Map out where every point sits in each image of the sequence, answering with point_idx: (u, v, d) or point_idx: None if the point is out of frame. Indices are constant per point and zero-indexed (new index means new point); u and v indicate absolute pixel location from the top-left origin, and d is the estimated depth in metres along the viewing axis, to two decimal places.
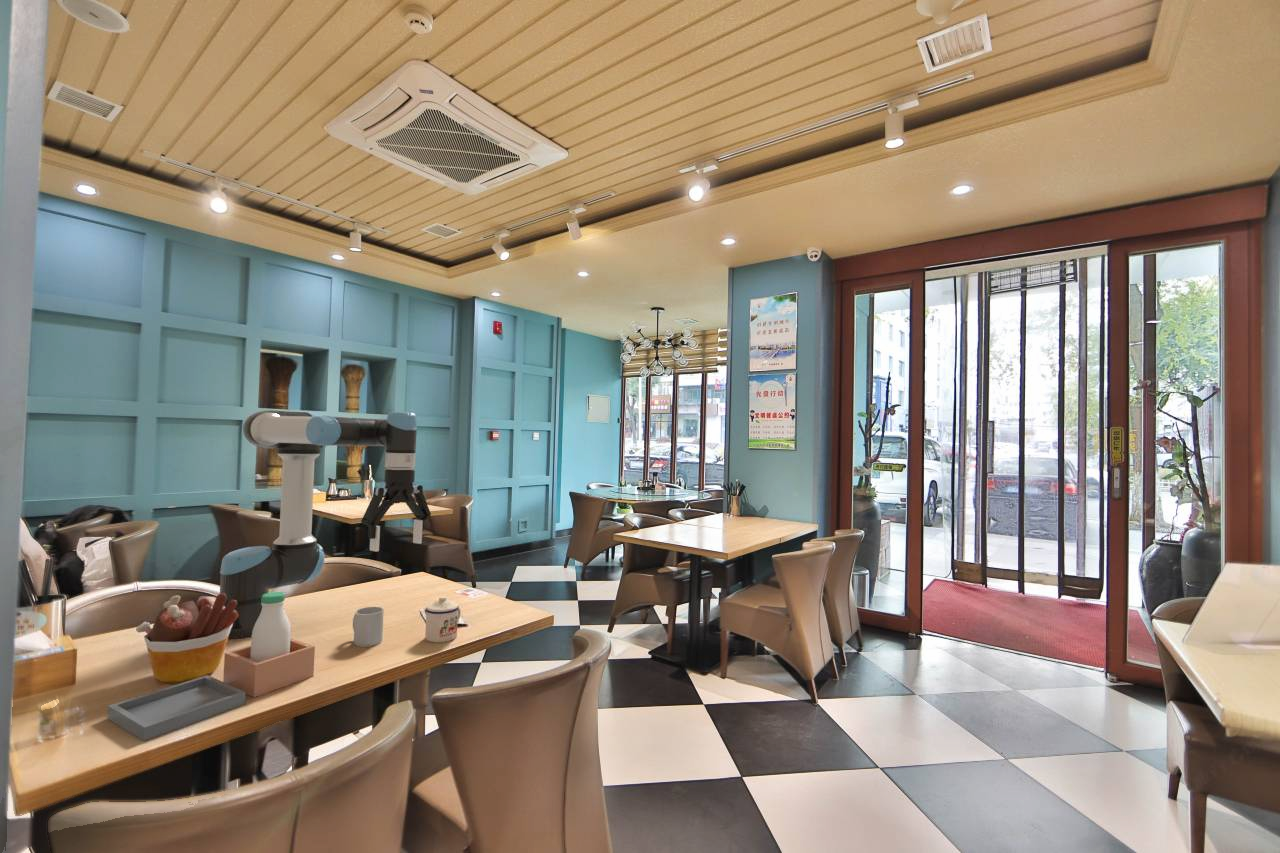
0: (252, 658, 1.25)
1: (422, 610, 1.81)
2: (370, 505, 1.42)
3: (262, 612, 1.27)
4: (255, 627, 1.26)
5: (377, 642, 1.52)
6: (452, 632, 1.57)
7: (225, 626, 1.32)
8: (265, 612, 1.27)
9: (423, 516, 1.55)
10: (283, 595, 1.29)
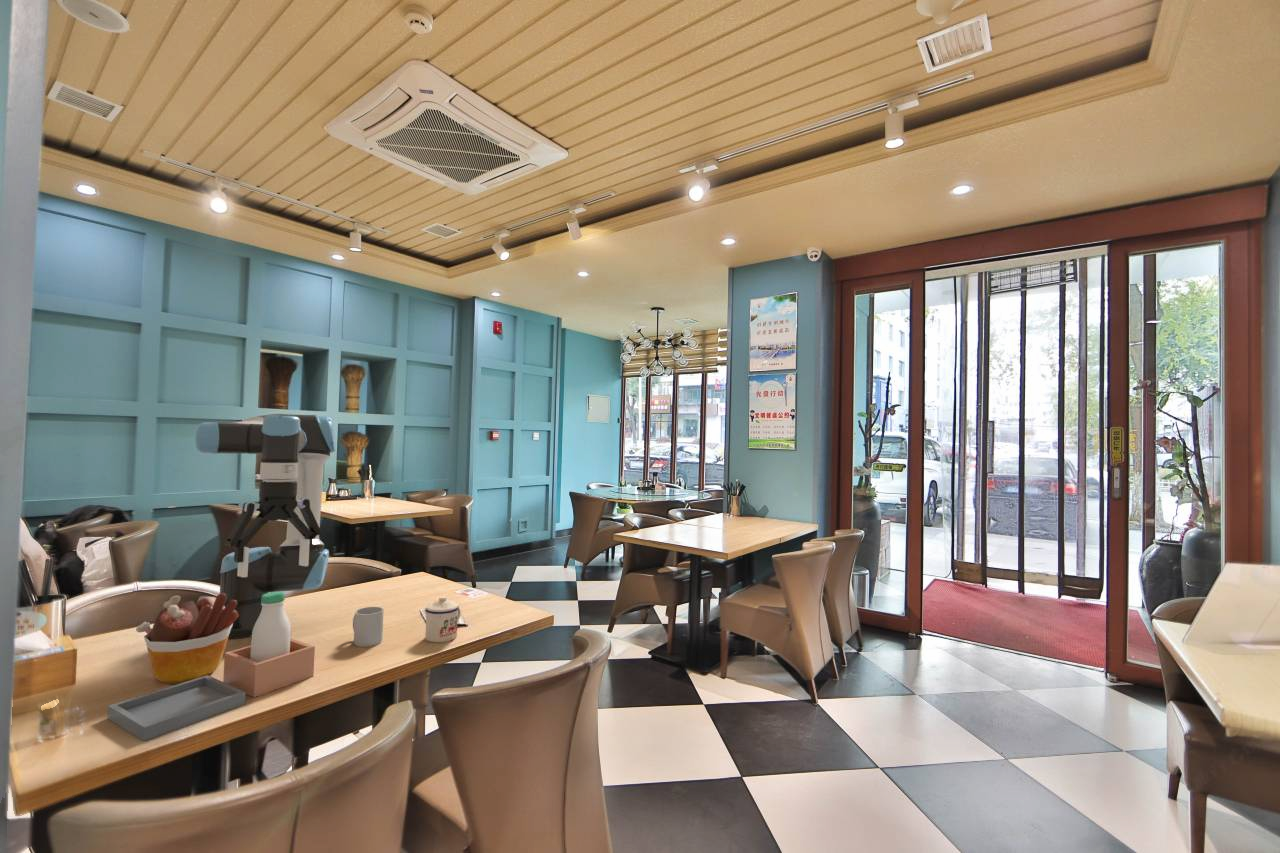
0: (252, 658, 1.25)
1: (422, 610, 1.81)
2: (237, 523, 1.22)
3: (262, 612, 1.27)
4: (255, 627, 1.26)
5: (377, 642, 1.52)
6: (452, 632, 1.57)
7: (225, 626, 1.32)
8: (265, 612, 1.27)
9: (311, 534, 1.35)
10: (283, 595, 1.29)
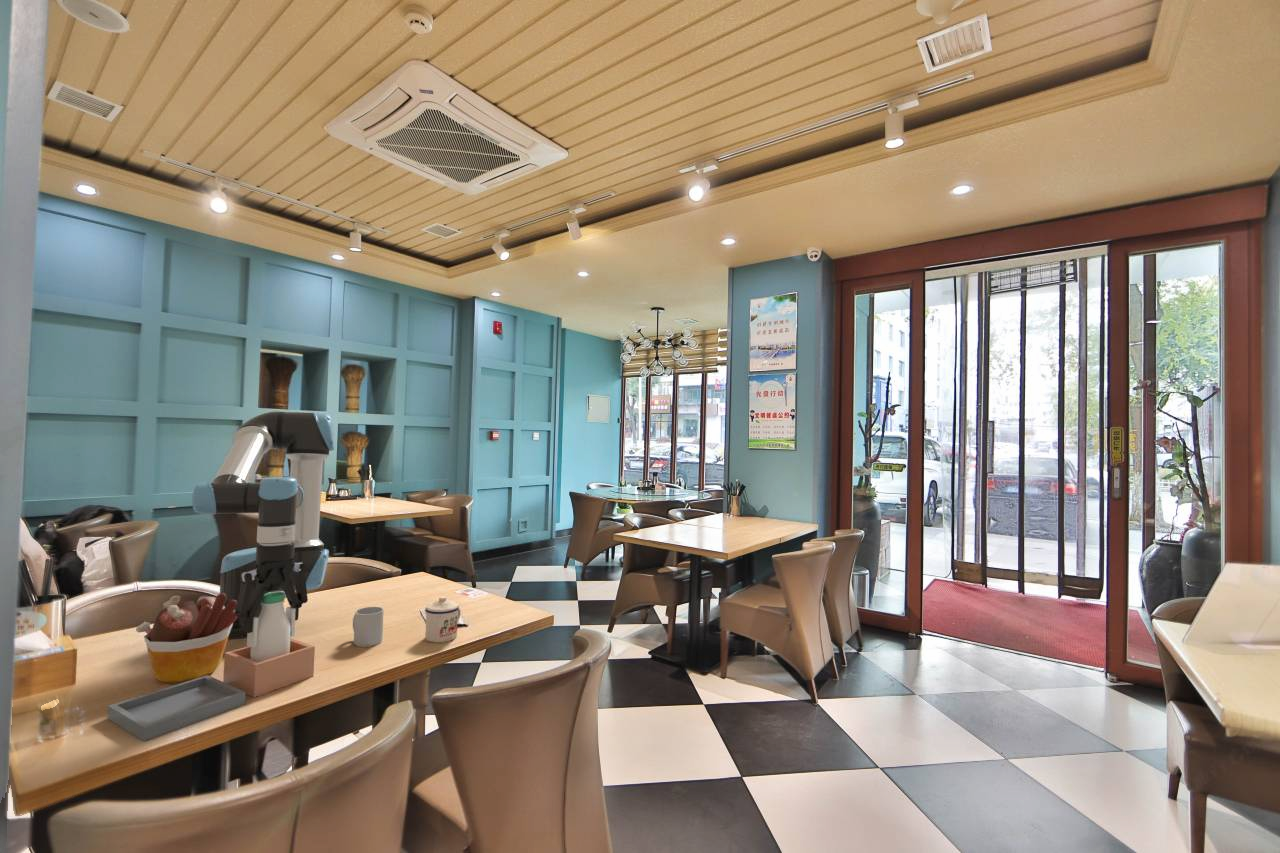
0: (252, 658, 1.25)
1: (422, 610, 1.81)
2: (240, 595, 1.23)
3: (262, 612, 1.27)
4: None
5: (377, 642, 1.52)
6: (452, 632, 1.57)
7: (225, 626, 1.32)
8: (265, 612, 1.27)
9: (297, 603, 1.33)
10: (283, 595, 1.29)
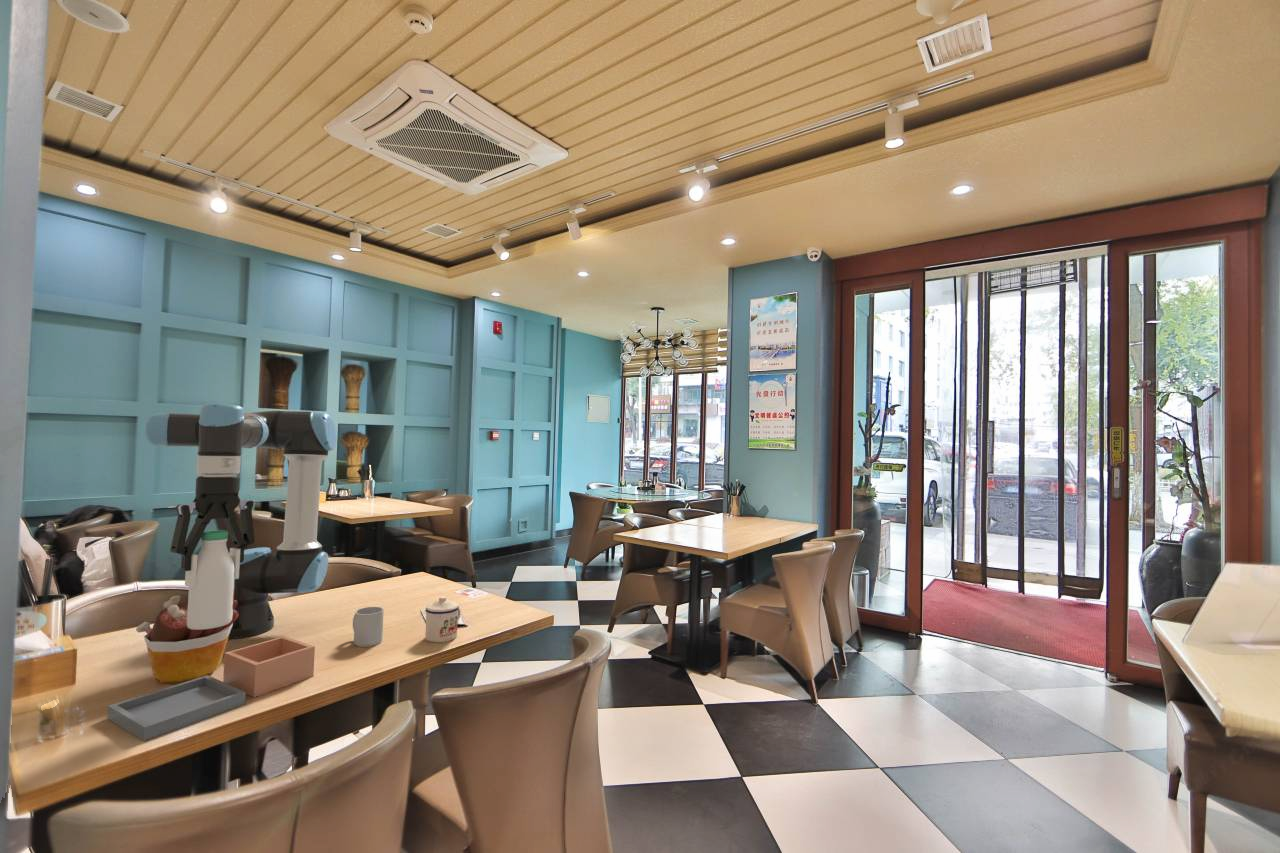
0: (190, 599, 1.14)
1: (423, 610, 1.81)
2: (176, 529, 1.12)
3: (202, 550, 1.16)
4: None
5: (377, 642, 1.52)
6: (452, 632, 1.57)
7: (225, 626, 1.32)
8: (205, 549, 1.16)
9: (242, 543, 1.22)
10: (226, 532, 1.18)
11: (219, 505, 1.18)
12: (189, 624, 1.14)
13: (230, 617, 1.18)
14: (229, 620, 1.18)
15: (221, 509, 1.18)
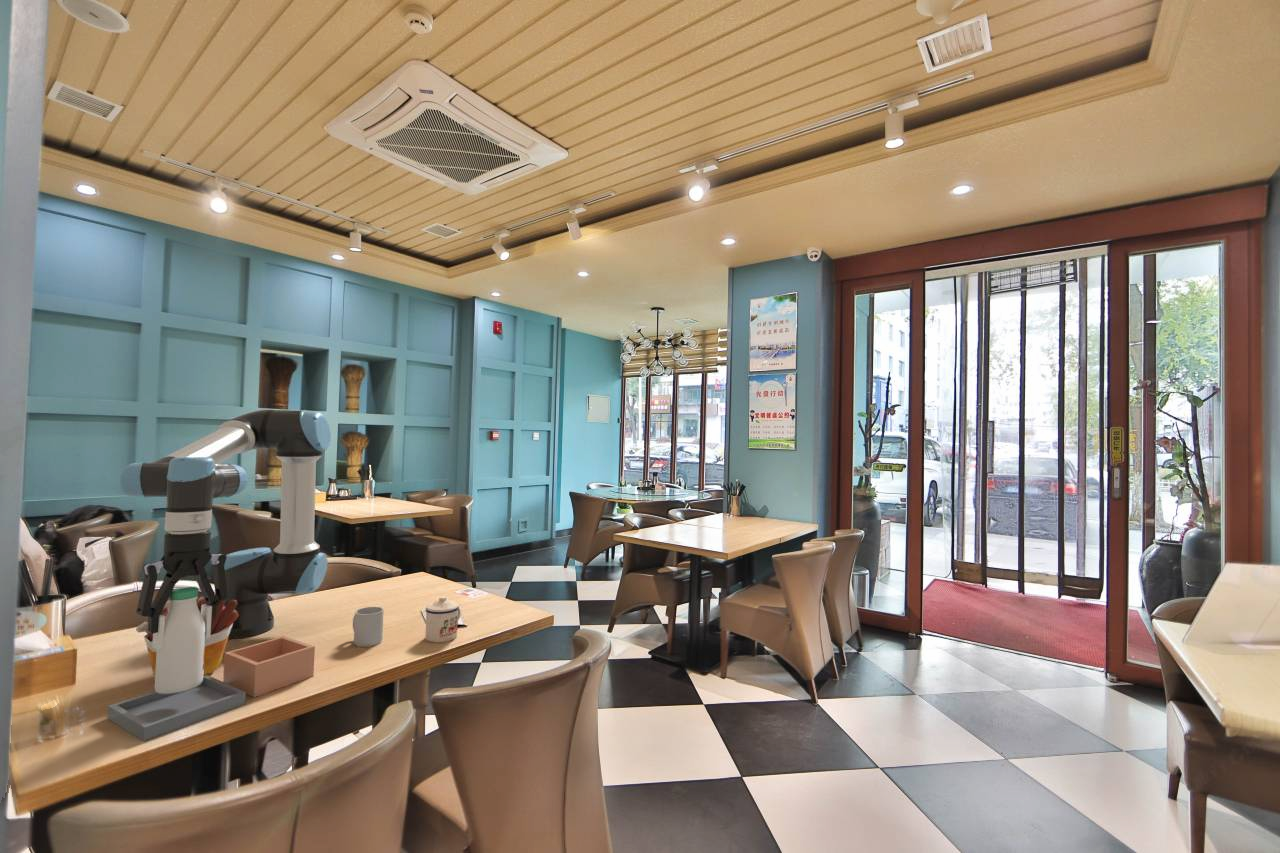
0: (157, 662, 1.10)
1: (423, 610, 1.81)
2: (142, 590, 1.08)
3: (170, 610, 1.11)
4: None
5: (377, 642, 1.52)
6: (452, 632, 1.57)
7: (225, 626, 1.32)
8: (173, 609, 1.11)
9: (214, 600, 1.17)
10: (196, 590, 1.14)
11: (189, 562, 1.13)
12: (156, 688, 1.09)
13: (200, 678, 1.14)
14: (199, 682, 1.13)
15: (191, 566, 1.14)
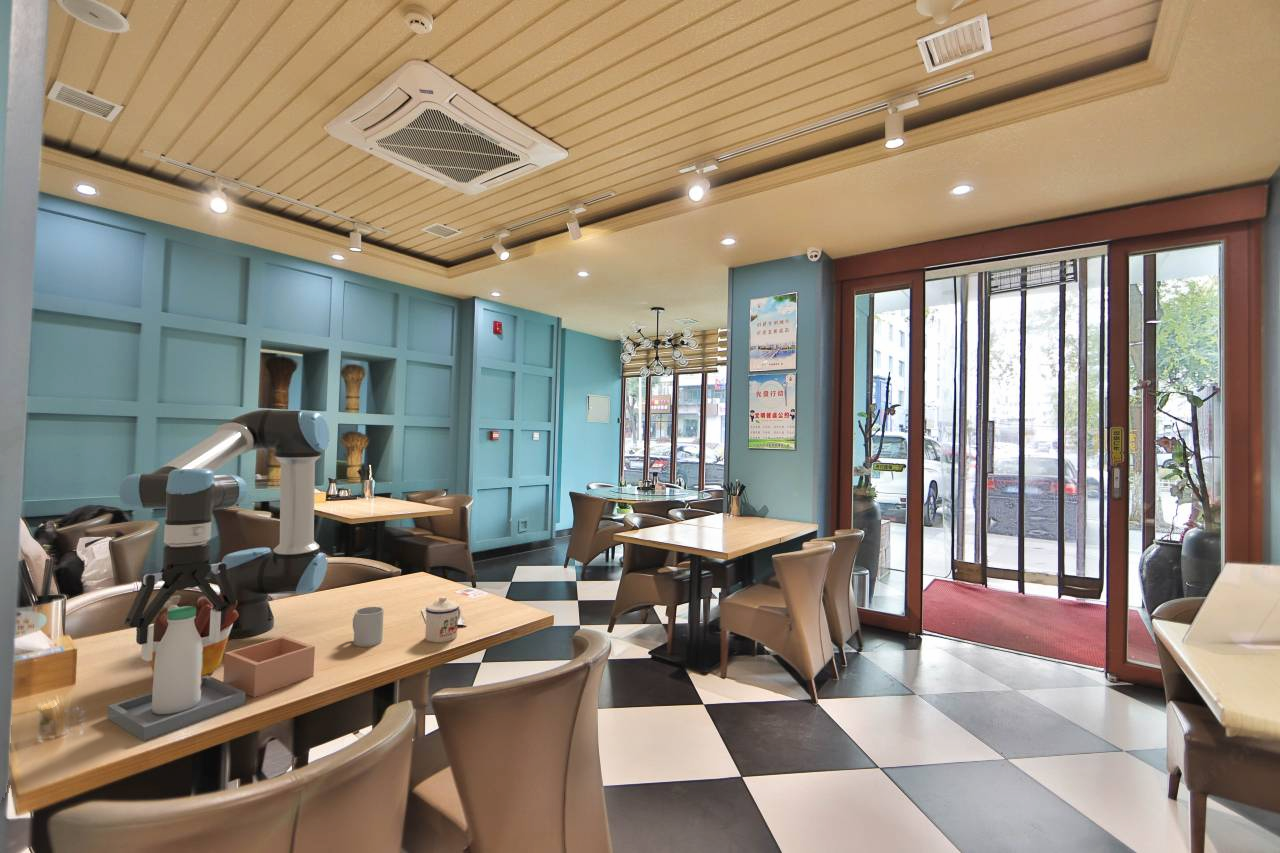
0: (154, 682, 1.09)
1: (424, 610, 1.82)
2: (136, 599, 1.07)
3: (167, 630, 1.11)
4: (159, 647, 1.10)
5: (377, 642, 1.52)
6: (452, 632, 1.57)
7: (225, 626, 1.32)
8: (171, 630, 1.11)
9: (223, 606, 1.19)
10: (193, 610, 1.13)
11: (188, 574, 1.13)
12: (153, 708, 1.09)
13: (197, 698, 1.13)
14: (196, 702, 1.13)
15: (190, 578, 1.13)
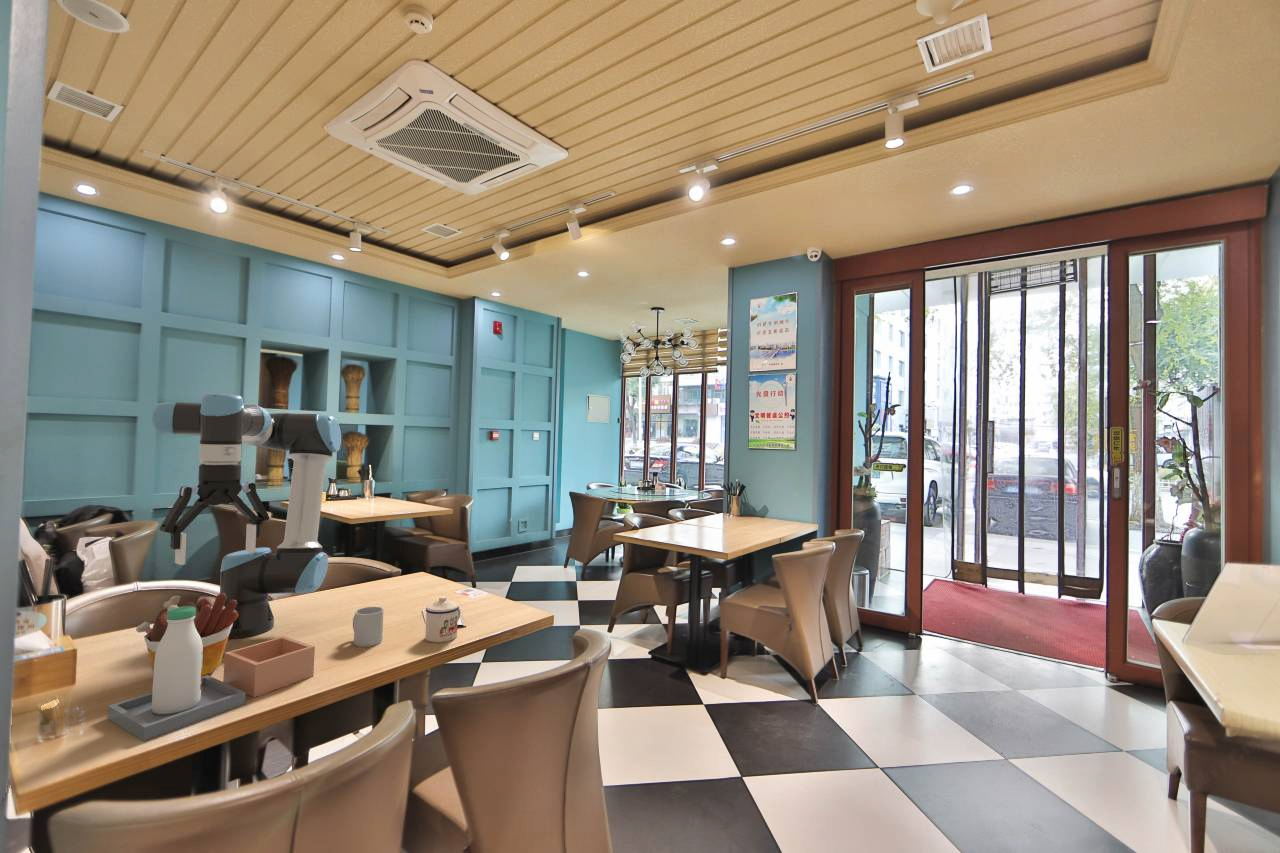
0: (154, 683, 1.09)
1: (424, 610, 1.82)
2: (173, 508, 1.16)
3: (167, 630, 1.11)
4: (158, 647, 1.10)
5: (377, 642, 1.52)
6: (452, 632, 1.57)
7: (225, 626, 1.32)
8: (170, 630, 1.11)
9: (257, 520, 1.29)
10: (193, 610, 1.13)
11: (221, 492, 1.22)
12: (153, 709, 1.09)
13: (197, 698, 1.13)
14: (196, 702, 1.13)
15: (223, 495, 1.22)
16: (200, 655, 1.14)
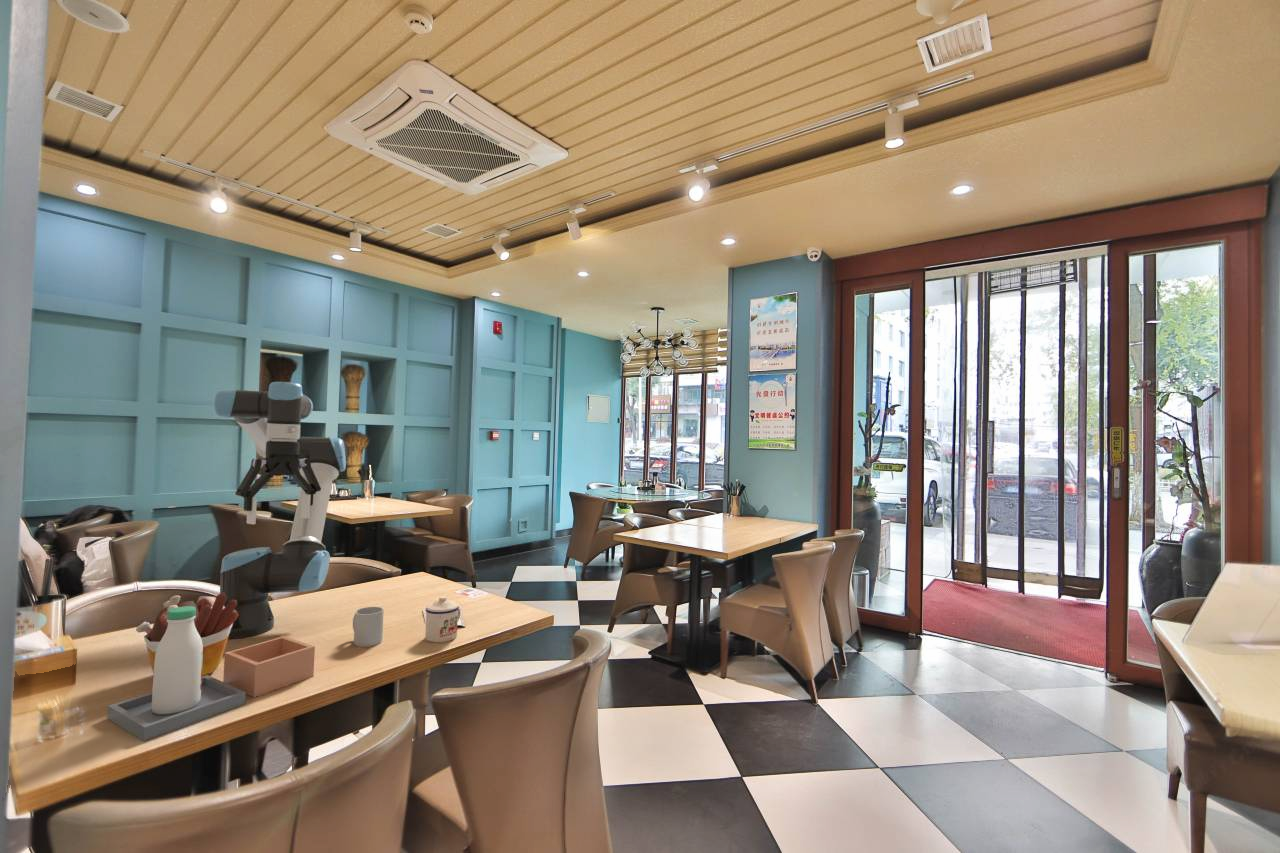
0: (154, 683, 1.09)
1: (425, 610, 1.82)
2: (246, 476, 1.38)
3: (167, 630, 1.11)
4: (158, 647, 1.10)
5: (377, 642, 1.52)
6: (452, 632, 1.57)
7: (225, 626, 1.32)
8: (170, 630, 1.11)
9: (311, 490, 1.51)
10: (193, 610, 1.13)
11: (284, 464, 1.44)
12: (153, 709, 1.09)
13: (197, 698, 1.13)
14: (196, 702, 1.13)
15: (285, 468, 1.45)
16: (200, 655, 1.14)
